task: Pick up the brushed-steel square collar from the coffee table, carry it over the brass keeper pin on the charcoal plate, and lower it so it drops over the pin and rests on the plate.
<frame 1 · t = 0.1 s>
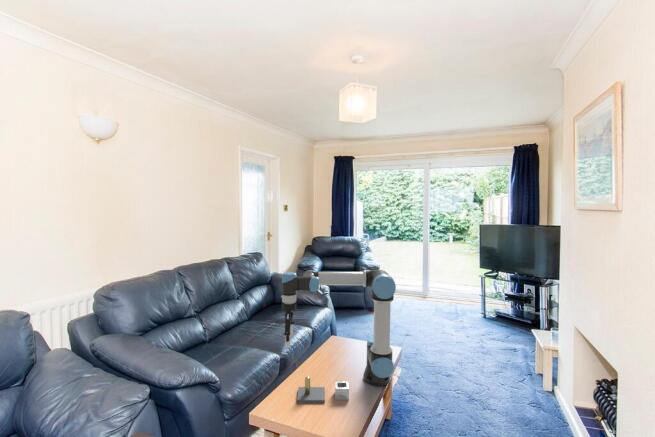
hand: (289, 341, 181), 28 cm above the table, fingers open, 13 cm apart
keeper pin: (307, 396, 179), resting on keeper plate
steel collar: (341, 396, 179), on the table
keeper plate: (311, 396, 179), on the table
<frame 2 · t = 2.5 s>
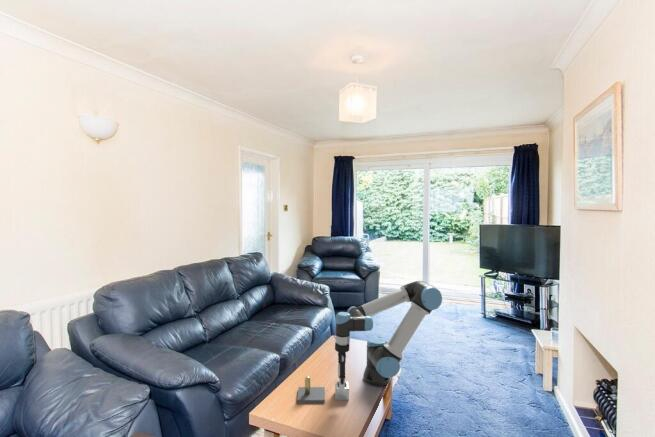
hand: (341, 382, 178), 7 cm above the table, fingers open, 13 cm apart
nothing on the table moved.
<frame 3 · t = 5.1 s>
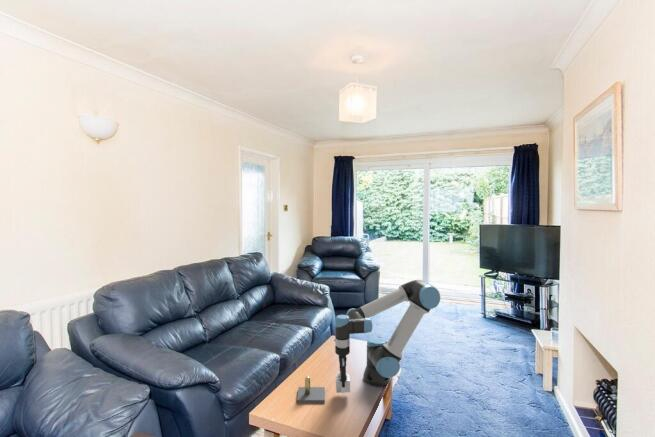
hand: (342, 388, 179), 4 cm above the table, fingers closed on steel collar, 7 cm apart
steel collar: (342, 388, 179), point 4 cm above the table, touching gripper
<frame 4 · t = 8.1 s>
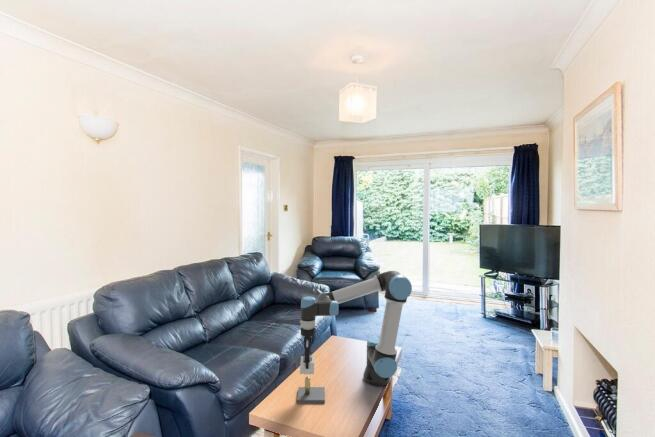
hand: (307, 370, 178), 14 cm above the table, fingers closed on steel collar, 7 cm apart
steel collar: (307, 370, 178), point 14 cm above the table, touching gripper
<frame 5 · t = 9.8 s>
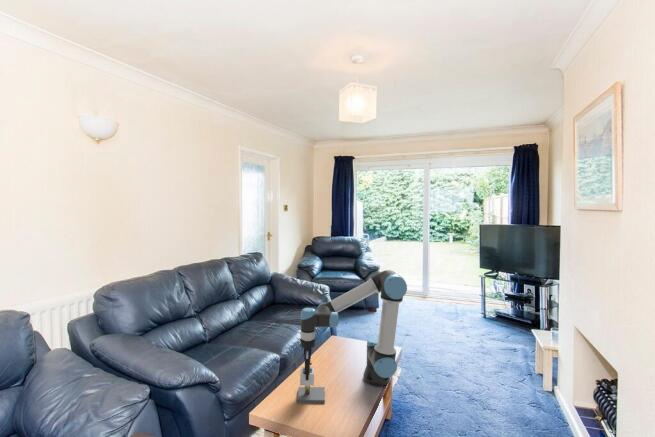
hand: (307, 381, 178), 8 cm above the table, fingers closed on steel collar, 7 cm apart
steel collar: (307, 381, 178), point 8 cm above the table, touching gripper
when the fingers open (3 cm above the table, at t = 11.2 s): steel collar drops 1 cm, resting on keeper plate.
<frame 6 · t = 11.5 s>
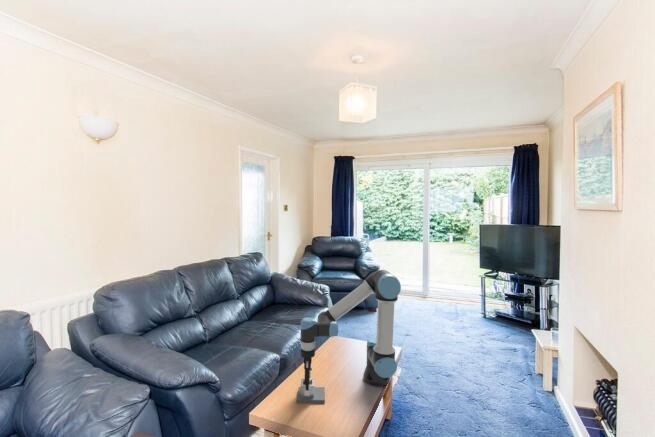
hand: (307, 389, 178), 4 cm above the table, fingers open, 11 cm apart
steel collar: (307, 393, 179), point 1 cm above the table, touching keeper plate
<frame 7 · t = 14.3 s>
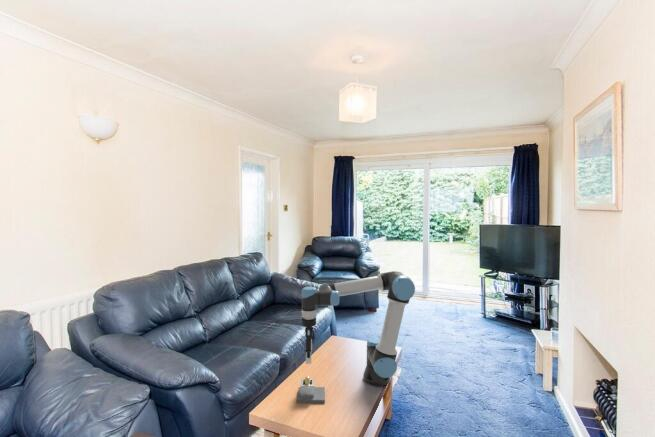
hand: (309, 357, 178), 21 cm above the table, fingers open, 13 cm apart
nothing on the table moved.
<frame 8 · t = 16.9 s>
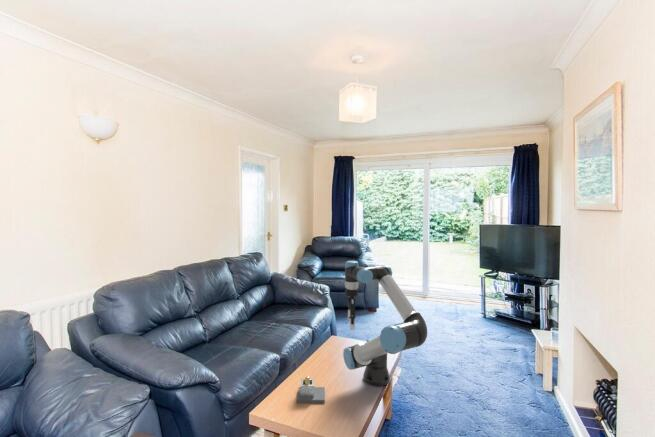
hand: (351, 325, 194), 32 cm above the table, fingers open, 13 cm apart
nothing on the table moved.
at the end: steel collar 0.0 cm off-centre on the keeper pin, point 1.5 cm above the keeper pin's base; steel collar tilted 0°; the gripper is holding nothing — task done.
